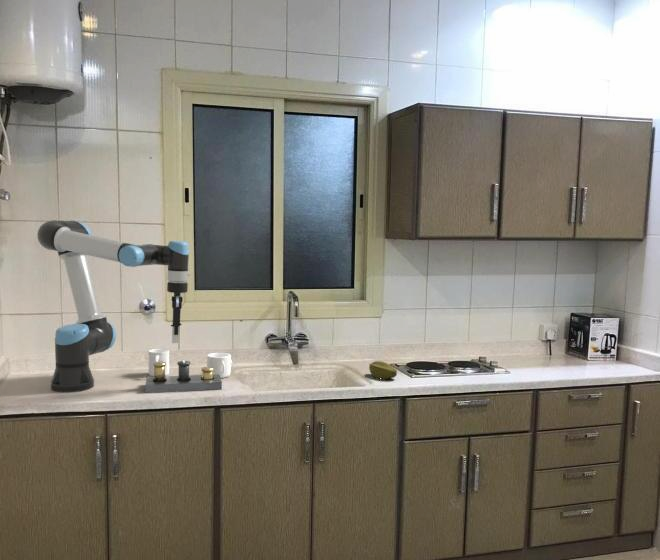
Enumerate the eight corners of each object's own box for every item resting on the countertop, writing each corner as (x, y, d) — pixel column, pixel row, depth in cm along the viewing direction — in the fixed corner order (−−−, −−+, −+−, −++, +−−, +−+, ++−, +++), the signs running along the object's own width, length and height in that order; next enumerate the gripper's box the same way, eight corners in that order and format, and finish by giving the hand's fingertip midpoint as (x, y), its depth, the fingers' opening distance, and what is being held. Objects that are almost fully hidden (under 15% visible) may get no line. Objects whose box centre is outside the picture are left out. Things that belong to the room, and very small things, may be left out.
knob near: (152, 382, 226) (152, 364, 225) (153, 379, 230) (153, 361, 230) (166, 381, 227) (166, 364, 226) (166, 378, 231) (166, 361, 231)
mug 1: (165, 379, 242) (165, 354, 241) (144, 379, 241) (144, 354, 241) (170, 372, 254) (170, 348, 253) (150, 372, 253) (150, 348, 252)
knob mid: (177, 381, 228) (177, 362, 227) (177, 378, 233) (177, 360, 232) (190, 380, 229) (190, 362, 229) (190, 377, 234) (190, 359, 233)
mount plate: (145, 392, 222) (145, 384, 221) (146, 384, 233) (146, 377, 233) (221, 389, 229) (221, 381, 229) (219, 381, 240) (219, 374, 240)
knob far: (201, 387, 230) (201, 369, 230) (200, 384, 235) (201, 367, 234) (214, 386, 232) (214, 369, 231) (213, 383, 236) (213, 366, 236)
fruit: (369, 380, 248) (370, 365, 248) (368, 373, 260) (369, 358, 260) (397, 381, 248) (397, 365, 247) (394, 374, 260) (395, 359, 259)
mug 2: (236, 379, 245) (237, 357, 245) (212, 381, 241) (212, 359, 240) (228, 372, 256) (228, 351, 255) (204, 374, 251) (204, 353, 251)
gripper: (188, 283, 222) (186, 346, 224) (186, 280, 235) (184, 339, 237) (167, 283, 220) (165, 346, 222) (167, 279, 232) (165, 339, 235)
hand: (175, 342), depth 229 cm, fingers closed
